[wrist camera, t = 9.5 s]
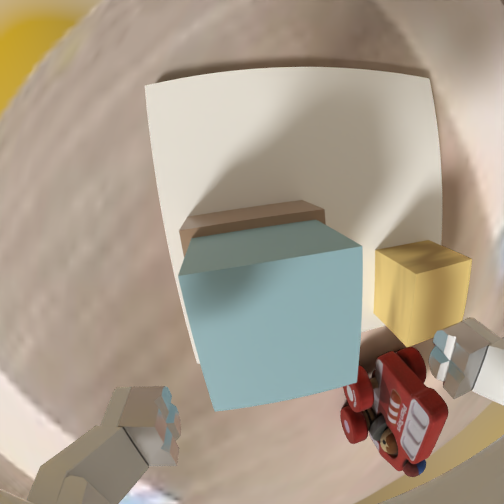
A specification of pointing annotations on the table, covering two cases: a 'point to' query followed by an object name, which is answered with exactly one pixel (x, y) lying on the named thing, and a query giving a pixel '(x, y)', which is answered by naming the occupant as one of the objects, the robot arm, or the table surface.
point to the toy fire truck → (395, 410)
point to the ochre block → (420, 289)
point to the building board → (298, 158)
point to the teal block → (274, 311)
